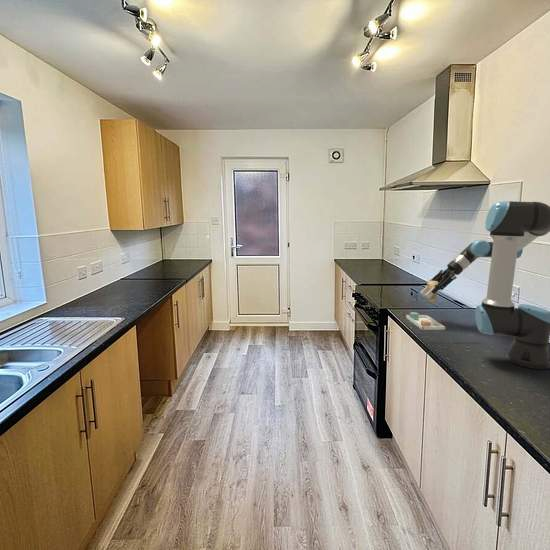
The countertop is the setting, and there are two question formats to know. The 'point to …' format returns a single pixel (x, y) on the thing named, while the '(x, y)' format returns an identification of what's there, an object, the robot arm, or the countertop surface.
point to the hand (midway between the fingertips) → (424, 295)
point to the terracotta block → (425, 323)
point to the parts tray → (434, 324)
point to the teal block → (414, 315)
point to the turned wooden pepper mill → (429, 286)
